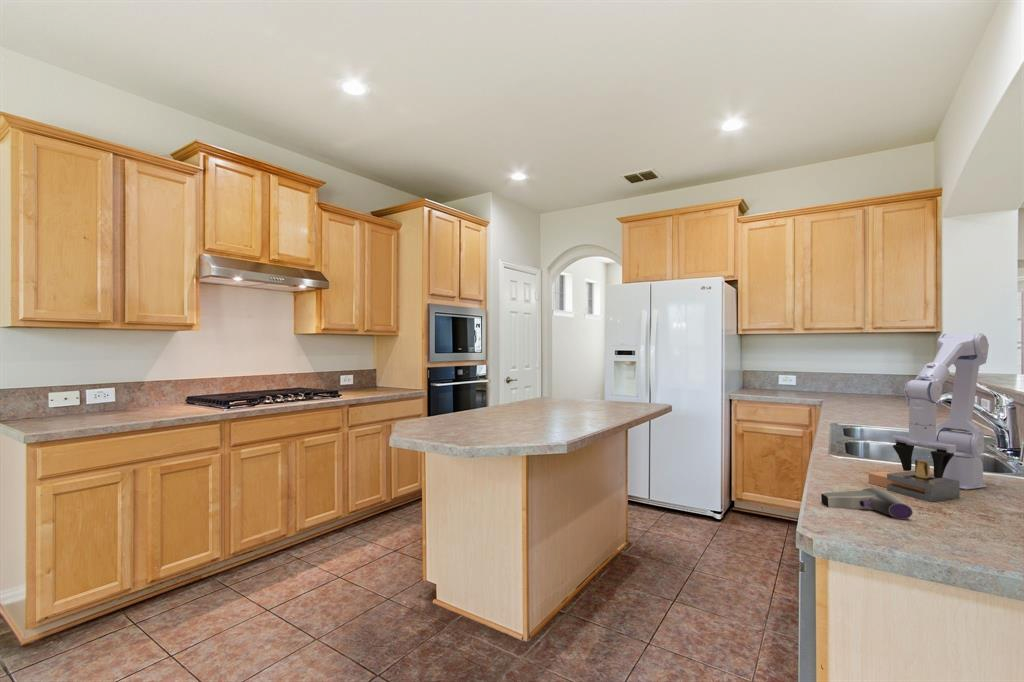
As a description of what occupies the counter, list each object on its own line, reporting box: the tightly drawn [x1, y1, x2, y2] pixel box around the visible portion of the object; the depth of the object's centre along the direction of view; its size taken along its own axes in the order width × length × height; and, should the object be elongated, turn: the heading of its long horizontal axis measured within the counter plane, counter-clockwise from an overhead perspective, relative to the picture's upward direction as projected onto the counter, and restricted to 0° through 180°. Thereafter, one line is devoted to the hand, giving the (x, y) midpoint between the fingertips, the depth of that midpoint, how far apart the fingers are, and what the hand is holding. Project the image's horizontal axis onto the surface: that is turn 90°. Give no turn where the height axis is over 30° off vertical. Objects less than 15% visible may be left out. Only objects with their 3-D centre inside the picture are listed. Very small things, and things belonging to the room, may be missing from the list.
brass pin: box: [914, 459, 931, 480], centre depth 133 cm, size 3×3×9 cm
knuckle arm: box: [868, 471, 925, 492], centre depth 137 cm, size 7×16×3 cm, turn 18°
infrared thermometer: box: [820, 487, 914, 520], centre depth 119 cm, size 5×12×15 cm
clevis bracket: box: [886, 470, 961, 503], centre depth 133 cm, size 11×11×4 cm
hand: (922, 474), depth 133 cm, fingers open, 7 cm apart
